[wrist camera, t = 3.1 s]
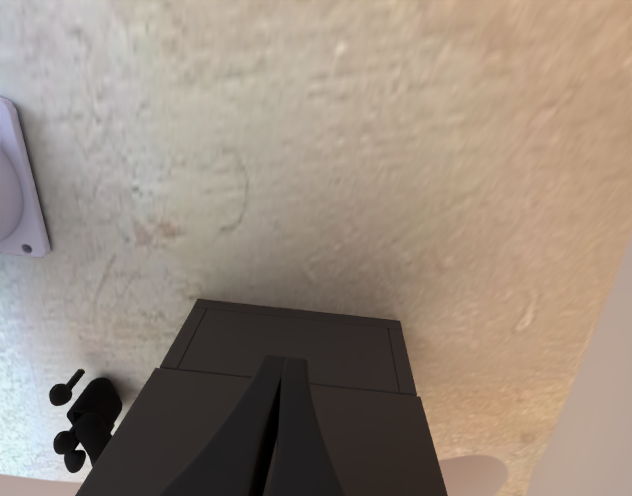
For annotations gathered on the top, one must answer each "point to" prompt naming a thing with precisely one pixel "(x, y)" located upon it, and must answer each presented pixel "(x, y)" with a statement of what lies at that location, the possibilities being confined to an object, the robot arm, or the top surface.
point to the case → (294, 345)
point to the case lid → (334, 420)
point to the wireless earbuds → (86, 420)
